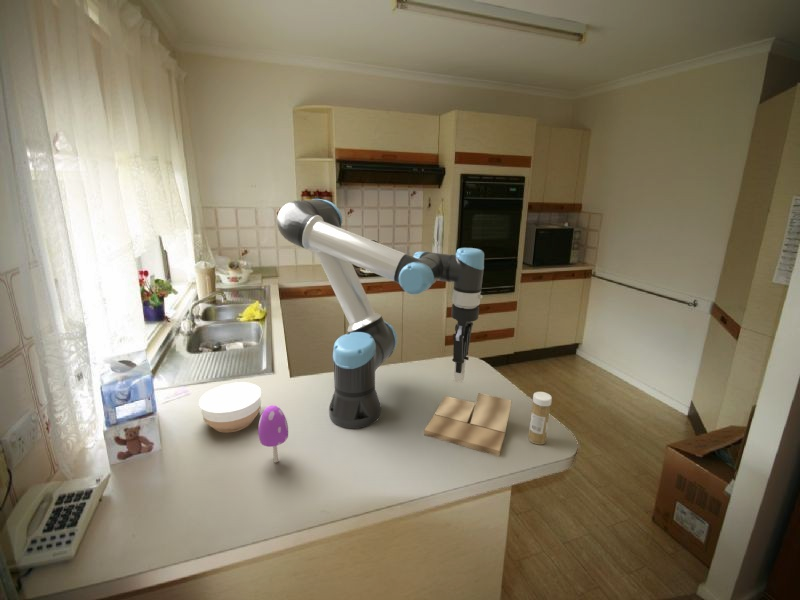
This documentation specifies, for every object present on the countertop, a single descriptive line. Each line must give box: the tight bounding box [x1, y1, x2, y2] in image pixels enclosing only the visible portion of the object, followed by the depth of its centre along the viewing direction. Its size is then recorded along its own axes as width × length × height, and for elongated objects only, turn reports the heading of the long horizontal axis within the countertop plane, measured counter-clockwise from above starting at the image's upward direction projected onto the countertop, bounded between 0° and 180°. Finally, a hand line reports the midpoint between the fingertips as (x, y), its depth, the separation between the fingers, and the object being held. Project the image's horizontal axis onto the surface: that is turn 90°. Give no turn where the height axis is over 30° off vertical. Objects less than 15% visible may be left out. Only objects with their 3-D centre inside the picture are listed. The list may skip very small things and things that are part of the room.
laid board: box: [423, 414, 506, 457], centre depth 105 cm, size 20×10×2 cm, turn 66°
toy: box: [257, 404, 289, 464], centre depth 92 cm, size 7×7×15 cm
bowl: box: [198, 381, 262, 434], centre depth 109 cm, size 16×16×8 cm
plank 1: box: [433, 395, 476, 424], centre depth 115 cm, size 10×10×1 cm
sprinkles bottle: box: [527, 391, 553, 446], centre depth 102 cm, size 5×5×13 cm
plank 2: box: [469, 392, 513, 434], centre depth 110 cm, size 10×10×1 cm
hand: (458, 380), depth 115 cm, fingers closed
